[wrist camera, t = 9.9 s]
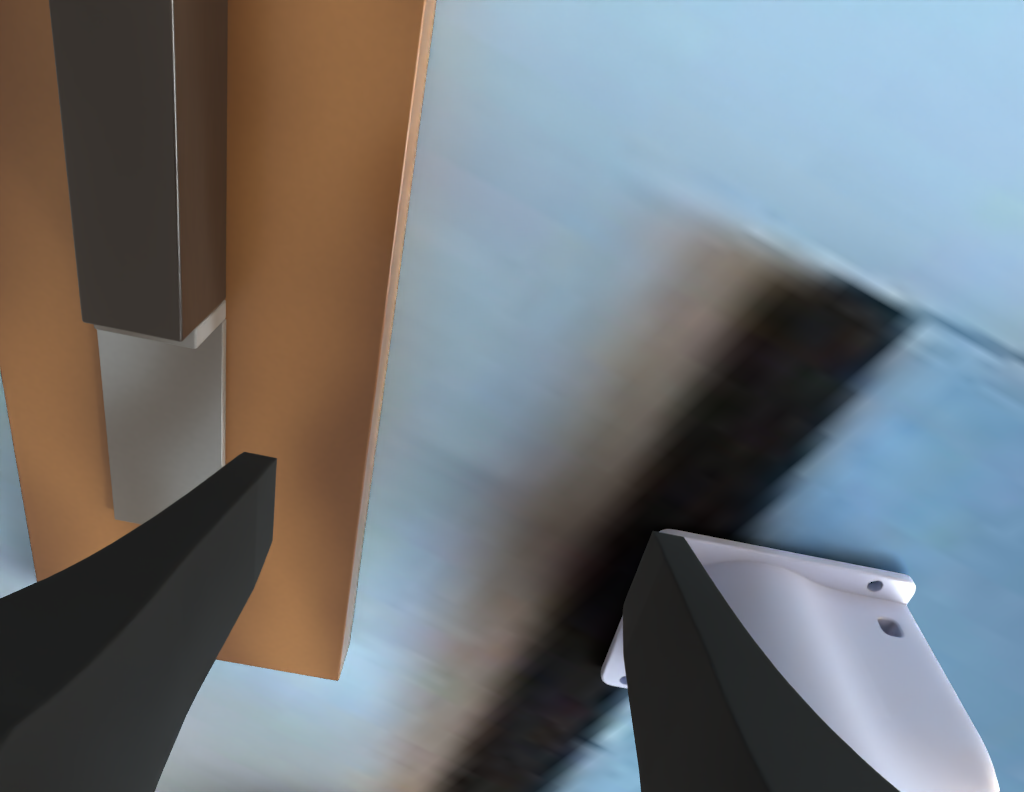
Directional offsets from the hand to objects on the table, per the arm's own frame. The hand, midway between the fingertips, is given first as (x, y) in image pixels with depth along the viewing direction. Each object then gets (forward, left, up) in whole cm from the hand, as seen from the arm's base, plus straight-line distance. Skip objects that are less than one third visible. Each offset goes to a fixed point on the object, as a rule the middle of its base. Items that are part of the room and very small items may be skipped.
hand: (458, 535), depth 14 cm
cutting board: (+9, +2, -9) cm, 13 cm away
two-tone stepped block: (+9, 0, -8) cm, 12 cm away
